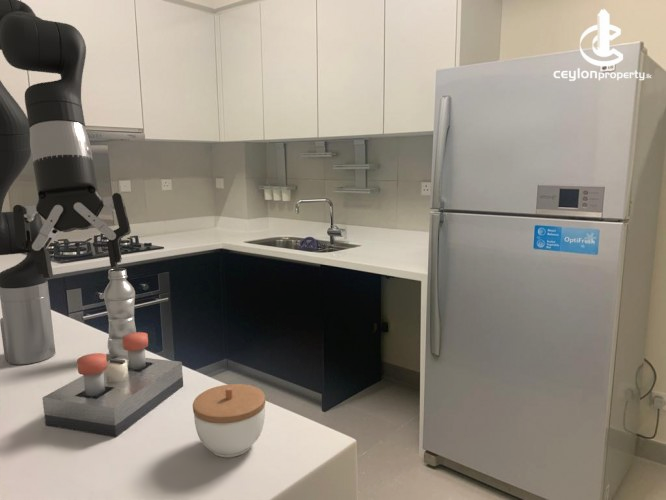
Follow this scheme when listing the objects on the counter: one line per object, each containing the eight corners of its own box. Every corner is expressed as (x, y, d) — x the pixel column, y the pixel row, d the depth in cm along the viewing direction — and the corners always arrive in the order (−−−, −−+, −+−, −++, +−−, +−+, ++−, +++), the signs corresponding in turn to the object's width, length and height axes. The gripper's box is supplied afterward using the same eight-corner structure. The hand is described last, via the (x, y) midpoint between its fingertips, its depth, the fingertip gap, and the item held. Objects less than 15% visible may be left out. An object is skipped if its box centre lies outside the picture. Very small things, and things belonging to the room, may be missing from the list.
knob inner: (119, 369, 91) (117, 339, 90) (135, 360, 96) (132, 331, 94) (140, 372, 90) (137, 341, 89) (154, 363, 94) (152, 333, 93)
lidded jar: (222, 422, 82) (219, 370, 80) (279, 434, 78) (277, 379, 76) (180, 458, 72) (176, 398, 70) (243, 474, 68) (240, 411, 66)
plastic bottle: (120, 349, 115) (112, 266, 112) (145, 351, 114) (139, 267, 111) (102, 360, 109) (93, 272, 106) (129, 362, 108) (121, 273, 104)
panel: (45, 425, 81) (42, 397, 80) (122, 378, 99) (120, 355, 99) (116, 437, 78) (113, 408, 77) (183, 385, 96) (181, 361, 95)
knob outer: (74, 396, 81) (70, 361, 80) (93, 384, 85) (90, 352, 84) (96, 399, 80) (93, 364, 79) (115, 387, 84) (112, 354, 83)
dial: (102, 381, 86) (100, 362, 86) (116, 373, 90) (114, 355, 89) (119, 383, 85) (117, 364, 85) (132, 375, 89) (131, 356, 88)
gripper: (120, 160, 75) (138, 265, 74) (15, 171, 71) (33, 281, 70) (113, 147, 67) (132, 263, 67) (-5, 158, 63) (15, 281, 63)
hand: (81, 272), depth 69 cm, fingers open, 8 cm apart
